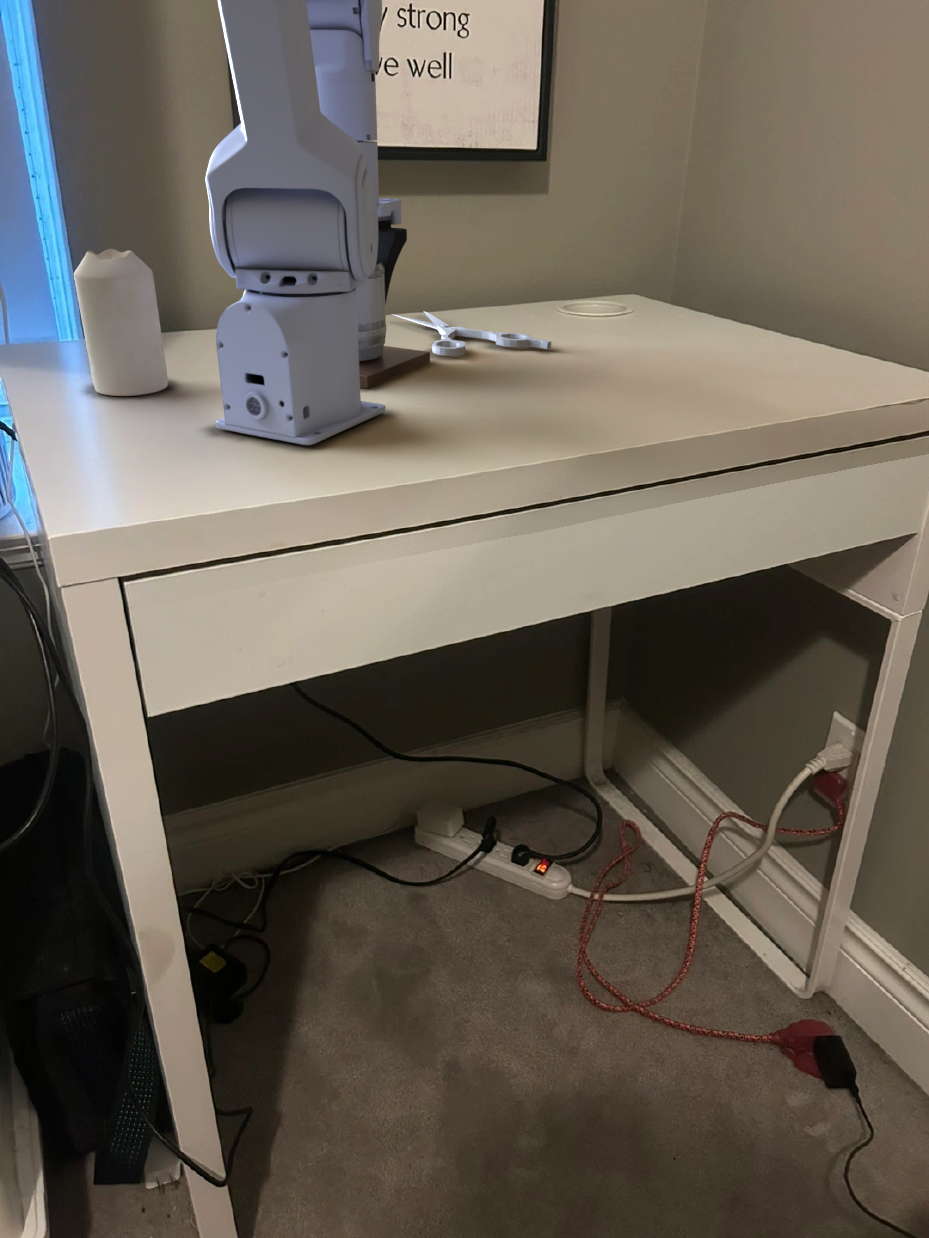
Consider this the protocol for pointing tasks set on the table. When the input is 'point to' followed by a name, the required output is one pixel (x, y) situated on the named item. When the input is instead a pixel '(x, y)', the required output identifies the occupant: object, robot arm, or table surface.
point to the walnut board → (391, 365)
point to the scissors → (458, 347)
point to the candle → (121, 323)
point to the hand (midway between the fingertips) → (348, 325)
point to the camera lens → (371, 314)
